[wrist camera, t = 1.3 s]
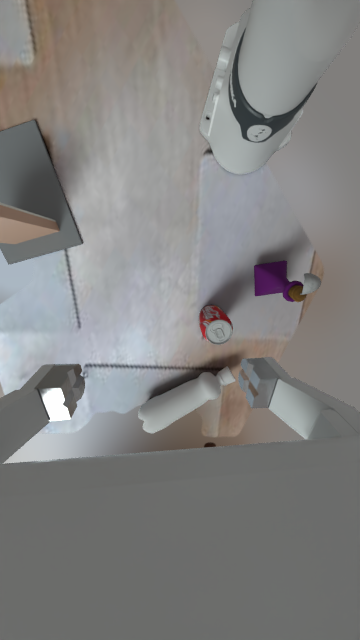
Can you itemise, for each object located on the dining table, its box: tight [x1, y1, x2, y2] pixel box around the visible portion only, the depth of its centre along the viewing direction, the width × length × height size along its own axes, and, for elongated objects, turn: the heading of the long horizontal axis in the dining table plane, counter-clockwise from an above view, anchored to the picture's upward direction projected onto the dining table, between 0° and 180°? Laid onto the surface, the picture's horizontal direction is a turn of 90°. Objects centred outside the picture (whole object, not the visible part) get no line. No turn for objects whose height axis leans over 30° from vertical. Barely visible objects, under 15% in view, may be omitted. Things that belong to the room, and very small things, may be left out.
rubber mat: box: [0, 120, 83, 264], centre depth 41 cm, size 24×20×1 cm
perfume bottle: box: [254, 261, 321, 302], centre depth 38 cm, size 8×8×18 cm
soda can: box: [199, 305, 233, 345], centre depth 44 cm, size 7×7×12 cm
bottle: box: [138, 366, 236, 433], centre depth 54 cm, size 9×9×30 cm
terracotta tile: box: [0, 203, 60, 244], centre depth 36 cm, size 2×12×15 cm, turn 104°
